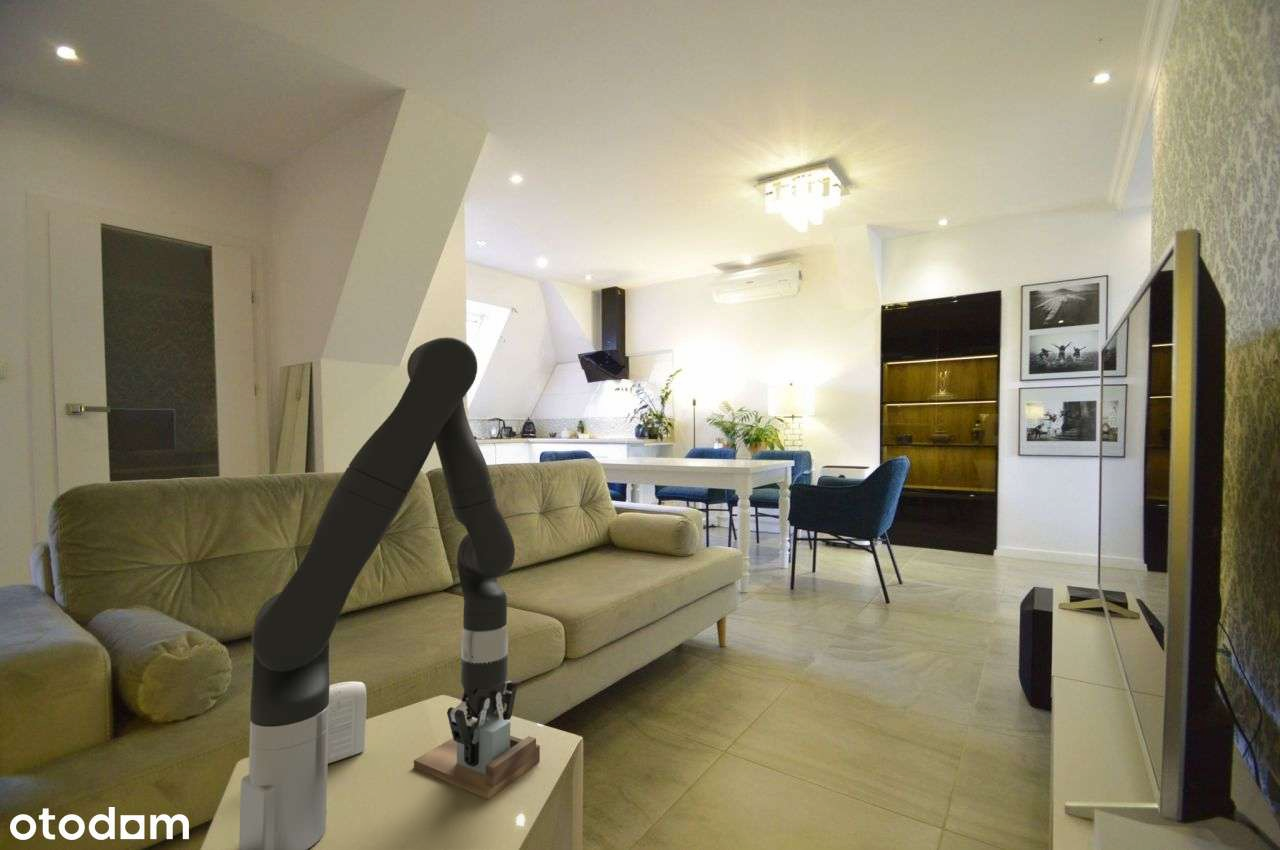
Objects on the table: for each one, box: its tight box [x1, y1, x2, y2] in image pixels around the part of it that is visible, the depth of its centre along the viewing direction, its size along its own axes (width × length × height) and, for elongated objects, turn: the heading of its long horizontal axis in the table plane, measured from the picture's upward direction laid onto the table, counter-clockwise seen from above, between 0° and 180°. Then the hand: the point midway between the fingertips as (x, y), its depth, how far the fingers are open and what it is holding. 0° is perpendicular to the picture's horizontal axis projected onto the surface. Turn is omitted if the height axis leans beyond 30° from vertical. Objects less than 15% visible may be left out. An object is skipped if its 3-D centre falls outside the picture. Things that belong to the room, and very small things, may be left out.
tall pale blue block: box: [457, 715, 511, 775], centre depth 92 cm, size 4×8×7 cm, turn 60°
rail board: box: [413, 734, 541, 800], centre depth 94 cm, size 12×17×4 cm
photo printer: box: [327, 681, 367, 765], centre depth 96 cm, size 10×4×12 cm, turn 134°
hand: (483, 756), depth 92 cm, fingers open, 4 cm apart
